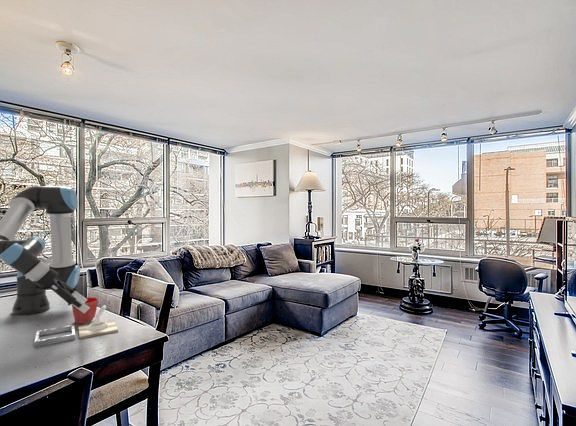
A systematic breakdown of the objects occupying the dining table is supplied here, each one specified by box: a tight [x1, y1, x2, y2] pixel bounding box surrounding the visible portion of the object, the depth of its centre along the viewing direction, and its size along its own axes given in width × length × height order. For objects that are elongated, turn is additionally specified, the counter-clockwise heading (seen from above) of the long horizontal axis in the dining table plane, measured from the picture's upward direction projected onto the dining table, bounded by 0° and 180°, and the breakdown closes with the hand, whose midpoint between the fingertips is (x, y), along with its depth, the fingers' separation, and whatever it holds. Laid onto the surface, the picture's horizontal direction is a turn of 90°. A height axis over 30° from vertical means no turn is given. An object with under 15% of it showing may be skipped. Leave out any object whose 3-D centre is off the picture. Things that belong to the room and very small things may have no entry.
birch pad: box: [77, 320, 119, 340], centre depth 140 cm, size 14×14×1 cm
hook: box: [88, 304, 108, 331], centre depth 140 cm, size 8×12×7 cm
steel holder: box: [33, 324, 76, 347], centre depth 131 cm, size 13×13×2 cm
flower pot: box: [71, 297, 99, 324], centre depth 152 cm, size 11×11×10 cm
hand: (86, 306), depth 137 cm, fingers open, 13 cm apart
